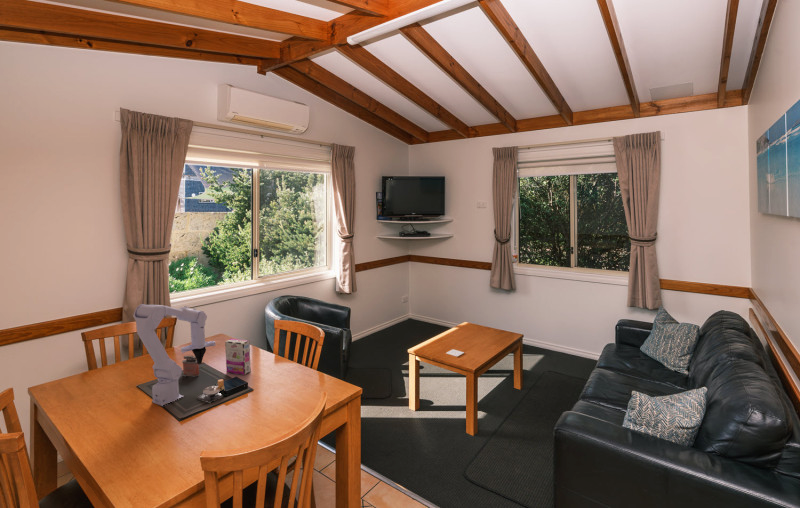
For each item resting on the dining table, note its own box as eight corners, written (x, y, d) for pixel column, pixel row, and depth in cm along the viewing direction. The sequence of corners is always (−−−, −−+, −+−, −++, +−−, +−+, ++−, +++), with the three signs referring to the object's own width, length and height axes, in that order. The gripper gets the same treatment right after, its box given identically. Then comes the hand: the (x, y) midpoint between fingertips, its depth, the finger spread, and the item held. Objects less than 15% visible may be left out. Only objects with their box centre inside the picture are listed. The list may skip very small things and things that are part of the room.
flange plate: (206, 396, 171) (205, 388, 171) (200, 391, 176) (200, 382, 176) (226, 390, 177) (225, 382, 176) (220, 385, 182) (219, 377, 181)
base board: (210, 403, 170) (209, 393, 170) (197, 399, 174) (196, 389, 174) (227, 395, 178) (226, 385, 178) (214, 391, 182) (213, 381, 181)
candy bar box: (251, 371, 203) (250, 340, 201) (244, 375, 199) (243, 343, 197) (232, 368, 207) (231, 337, 205) (226, 372, 202) (224, 341, 200)
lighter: (201, 374, 199) (200, 355, 198) (197, 377, 196) (196, 357, 195) (185, 373, 200) (184, 354, 199) (181, 376, 197) (180, 356, 196)
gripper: (183, 341, 180) (185, 370, 182) (217, 334, 190) (218, 362, 191) (179, 337, 185) (180, 365, 187) (212, 330, 195) (213, 357, 196)
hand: (199, 363), depth 189 cm, fingers closed
